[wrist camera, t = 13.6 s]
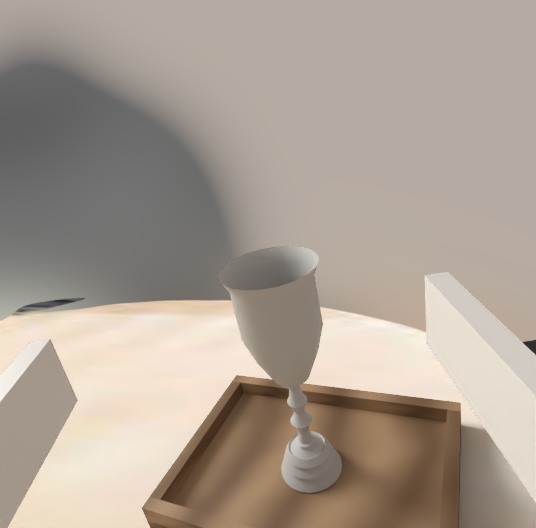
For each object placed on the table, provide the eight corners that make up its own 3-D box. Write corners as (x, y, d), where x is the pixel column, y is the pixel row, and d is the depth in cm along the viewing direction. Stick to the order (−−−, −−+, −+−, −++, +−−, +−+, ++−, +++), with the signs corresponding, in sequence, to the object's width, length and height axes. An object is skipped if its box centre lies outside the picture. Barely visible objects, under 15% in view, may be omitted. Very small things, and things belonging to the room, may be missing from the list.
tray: (151, 529, 33) (141, 507, 32) (241, 392, 46) (236, 375, 45) (456, 633, 23) (455, 608, 23) (461, 424, 37) (460, 402, 36)
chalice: (368, 489, 31) (334, 272, 25) (280, 517, 31) (222, 301, 24) (336, 423, 38) (302, 238, 32) (263, 444, 37) (214, 260, 31)
